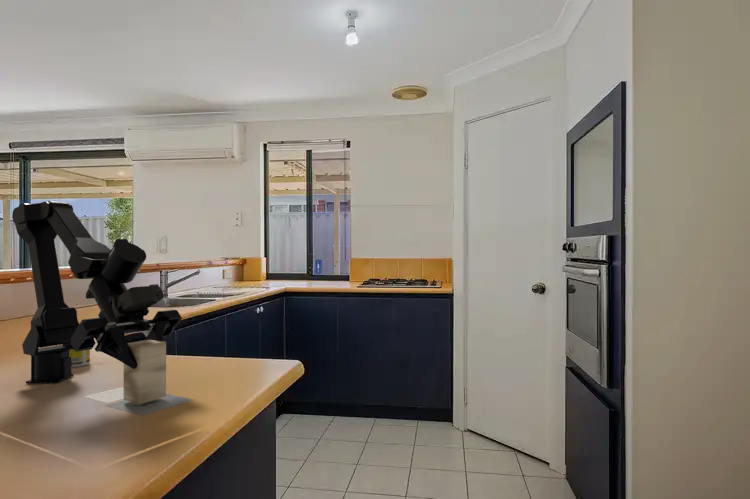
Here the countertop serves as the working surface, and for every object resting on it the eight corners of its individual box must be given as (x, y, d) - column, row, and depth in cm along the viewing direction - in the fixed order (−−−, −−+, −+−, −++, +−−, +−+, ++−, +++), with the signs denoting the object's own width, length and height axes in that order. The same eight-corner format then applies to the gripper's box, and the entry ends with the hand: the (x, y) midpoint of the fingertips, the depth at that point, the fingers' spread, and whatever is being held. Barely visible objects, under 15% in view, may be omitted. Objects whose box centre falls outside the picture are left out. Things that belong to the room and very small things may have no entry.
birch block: (123, 399, 85) (123, 343, 86) (149, 392, 90) (149, 339, 90) (140, 403, 83) (140, 346, 83) (166, 396, 87) (166, 341, 87)
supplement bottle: (80, 362, 122) (81, 323, 122) (94, 364, 119) (94, 324, 120) (59, 366, 117) (59, 326, 117) (72, 368, 114) (72, 327, 115)
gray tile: (104, 407, 84) (104, 405, 84) (156, 393, 93) (156, 391, 93) (142, 417, 78) (142, 415, 78) (194, 401, 87) (194, 399, 87)
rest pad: (83, 398, 89) (83, 396, 90) (124, 388, 96) (124, 386, 96) (107, 404, 85) (107, 403, 85) (148, 393, 92) (148, 392, 92)
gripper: (80, 272, 81) (117, 343, 75) (176, 269, 97) (213, 328, 91) (55, 316, 85) (89, 387, 79) (152, 306, 101) (186, 364, 95)
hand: (149, 364), depth 86 cm, fingers closed on birch block, 5 cm apart
